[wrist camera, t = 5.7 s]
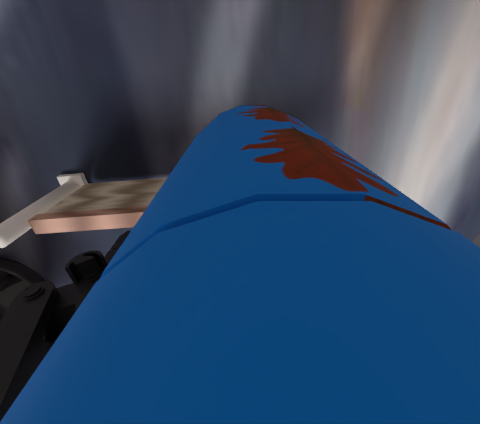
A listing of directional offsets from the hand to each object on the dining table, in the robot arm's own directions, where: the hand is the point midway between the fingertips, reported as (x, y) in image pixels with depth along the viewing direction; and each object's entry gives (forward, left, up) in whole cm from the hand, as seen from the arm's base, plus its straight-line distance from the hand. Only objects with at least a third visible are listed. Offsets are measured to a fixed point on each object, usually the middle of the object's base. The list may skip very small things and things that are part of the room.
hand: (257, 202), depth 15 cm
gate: (-15, -7, -23) cm, 29 cm away
